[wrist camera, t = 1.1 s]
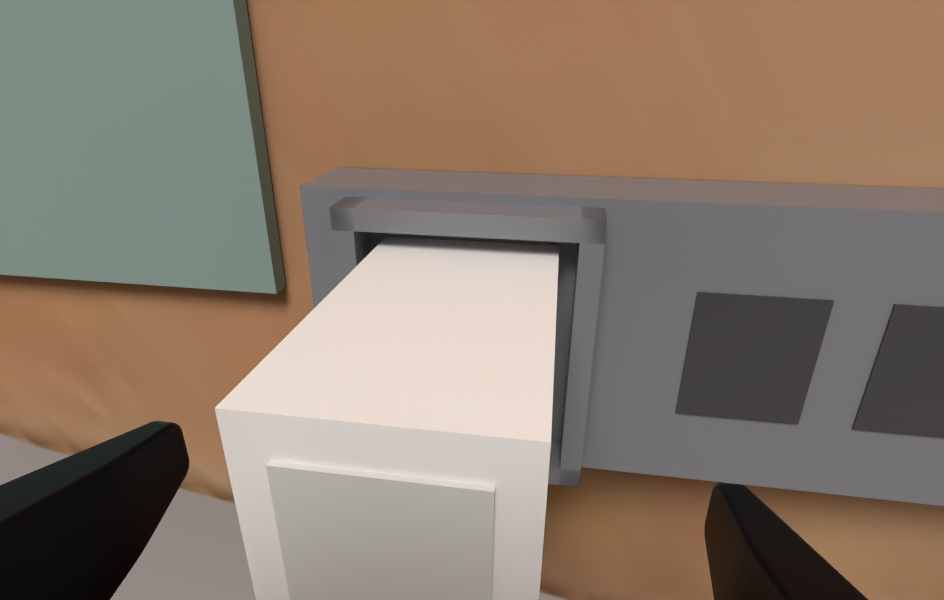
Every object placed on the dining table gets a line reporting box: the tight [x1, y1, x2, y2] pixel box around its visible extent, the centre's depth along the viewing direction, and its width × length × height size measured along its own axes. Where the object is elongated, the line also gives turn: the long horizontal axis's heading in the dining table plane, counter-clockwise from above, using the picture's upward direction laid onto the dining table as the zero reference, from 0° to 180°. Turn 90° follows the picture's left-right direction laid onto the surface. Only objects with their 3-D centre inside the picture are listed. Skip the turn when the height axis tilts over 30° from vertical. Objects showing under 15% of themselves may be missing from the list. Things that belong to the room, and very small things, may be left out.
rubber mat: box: [0, 0, 286, 294], centre depth 15 cm, size 12×12×1 cm
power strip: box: [300, 167, 944, 506], centre depth 14 cm, size 18×7×3 cm, turn 89°
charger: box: [215, 237, 559, 600], centre depth 11 cm, size 4×5×7 cm
